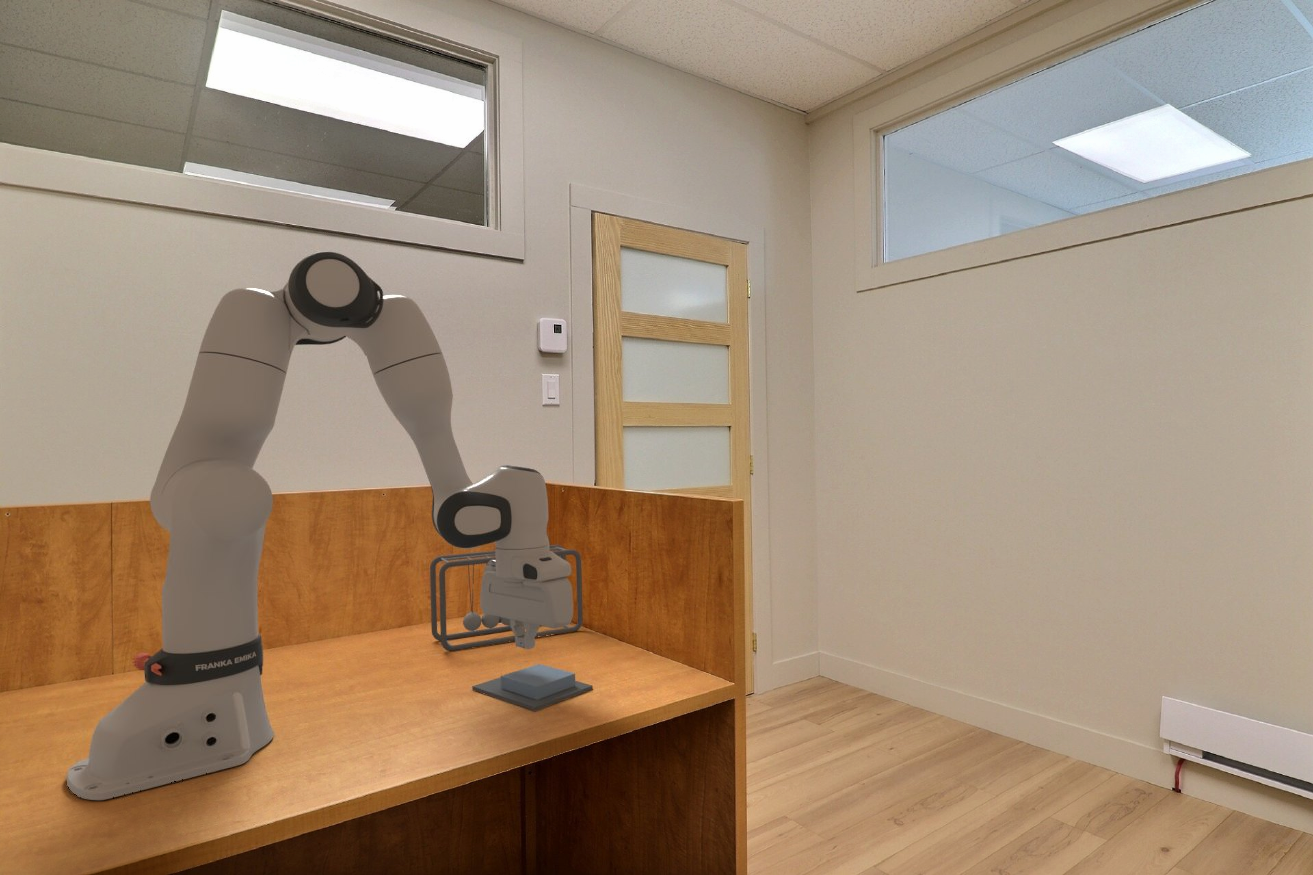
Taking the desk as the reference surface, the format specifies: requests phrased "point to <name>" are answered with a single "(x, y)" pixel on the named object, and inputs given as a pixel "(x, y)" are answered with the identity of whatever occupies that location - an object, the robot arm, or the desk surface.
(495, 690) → the mat
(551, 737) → the desk surface
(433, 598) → the newton's cradle
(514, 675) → the tile
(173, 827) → the desk surface
